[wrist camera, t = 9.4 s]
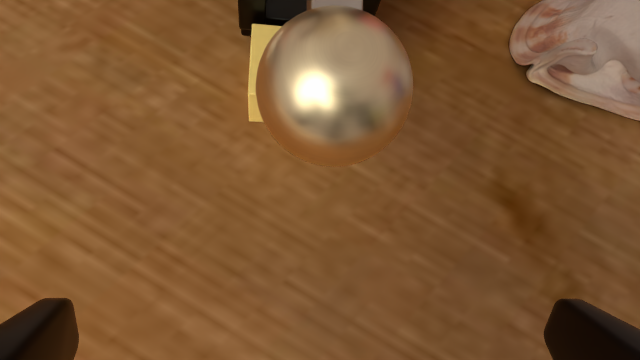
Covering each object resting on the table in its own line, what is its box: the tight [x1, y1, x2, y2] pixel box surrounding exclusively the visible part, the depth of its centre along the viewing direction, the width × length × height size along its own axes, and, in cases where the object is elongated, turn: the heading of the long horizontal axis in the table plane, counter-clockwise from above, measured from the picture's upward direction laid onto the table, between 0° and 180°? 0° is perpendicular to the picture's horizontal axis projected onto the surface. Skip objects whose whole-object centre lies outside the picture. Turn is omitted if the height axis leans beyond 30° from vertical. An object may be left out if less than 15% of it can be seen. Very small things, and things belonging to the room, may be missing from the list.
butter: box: [248, 24, 282, 122], centre depth 16 cm, size 3×4×2 cm
